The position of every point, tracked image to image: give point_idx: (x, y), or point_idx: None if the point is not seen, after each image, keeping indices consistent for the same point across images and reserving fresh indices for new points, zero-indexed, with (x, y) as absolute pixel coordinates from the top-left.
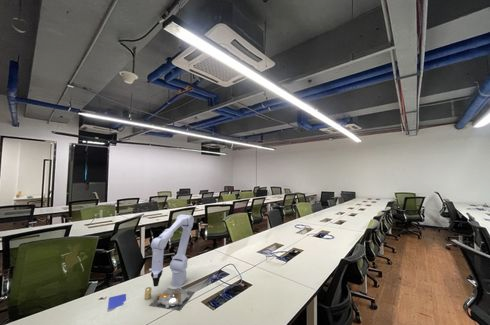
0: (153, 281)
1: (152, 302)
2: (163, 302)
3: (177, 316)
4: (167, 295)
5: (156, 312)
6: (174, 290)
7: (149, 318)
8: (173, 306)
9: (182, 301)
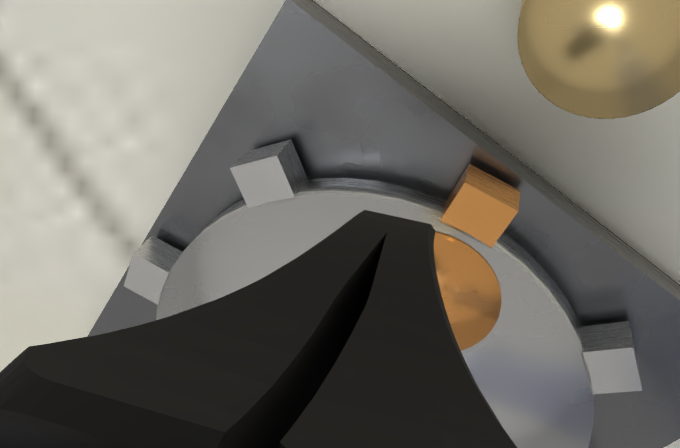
0: (270, 278)
1: (370, 69)
2: (207, 238)
3: (40, 303)
4: None
5: (148, 105)
6: (516, 444)
7: (33, 4)
8: None
9: None
